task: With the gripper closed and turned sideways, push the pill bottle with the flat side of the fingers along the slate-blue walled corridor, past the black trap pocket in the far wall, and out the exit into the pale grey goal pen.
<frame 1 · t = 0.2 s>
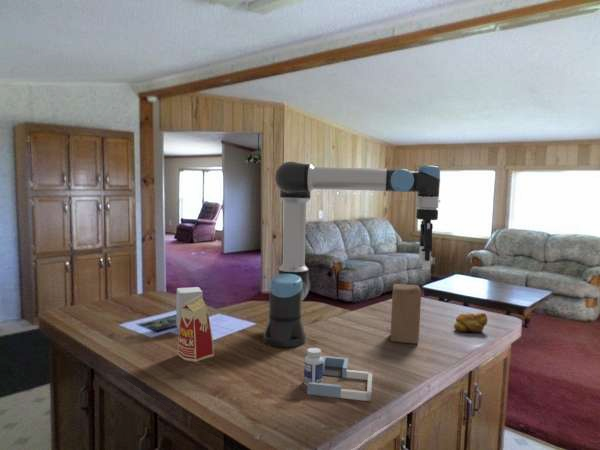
hand: (424, 266, 166), 28 cm above the kitchen island, fingers open, 13 cm apart
tunnel: (327, 384, 128), on the kitchen island
wooden block: (404, 339, 169), on the kitchen island
pill bottle: (313, 384, 129), on the kitchen island
goal pen: (357, 387, 127), on the kitchen island
pit: (333, 371, 137), resting in tunnel
bread roll: (467, 331, 182), on the kitchen island
supplement box: (189, 328, 176), on the kitchen island
milk carton: (194, 356, 147), on the kitchen island
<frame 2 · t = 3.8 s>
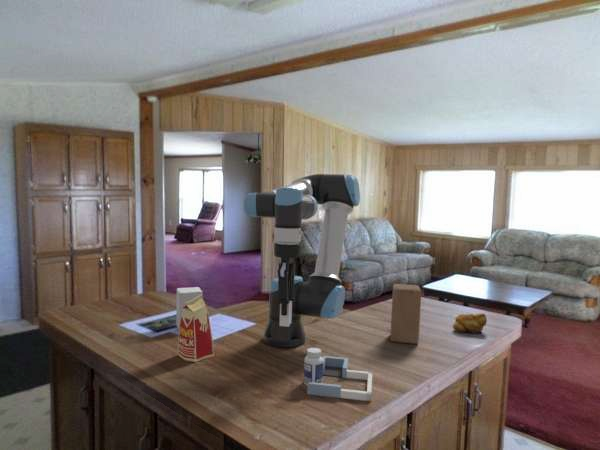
hand: (285, 324, 129), 16 cm above the kitchen island, fingers open, 2 cm apart
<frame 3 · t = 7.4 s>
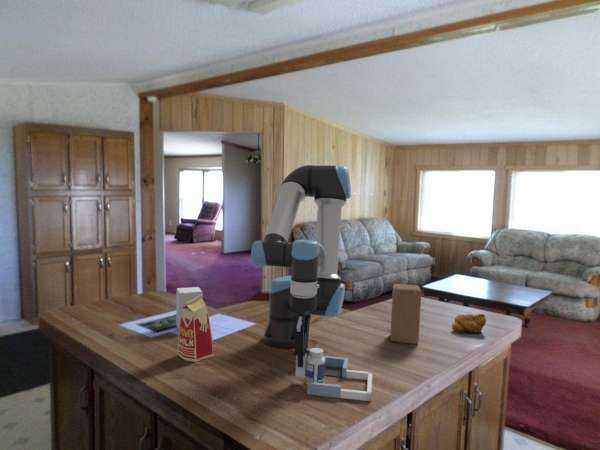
hand: (300, 376, 129), 2 cm above the kitchen island, fingers closed
pill bottle: (314, 384, 129), on the kitchen island, touching gripper
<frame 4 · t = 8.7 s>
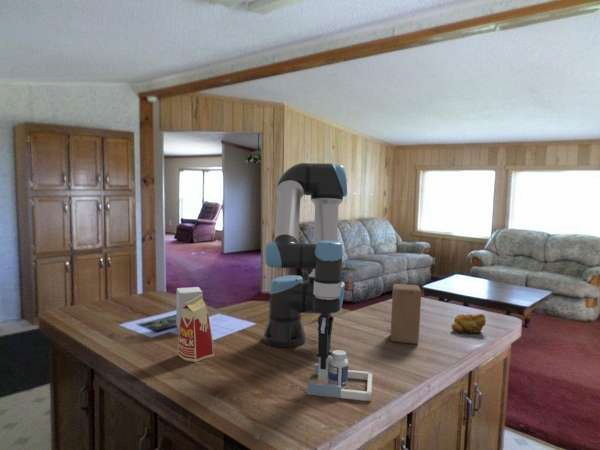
hand: (323, 378, 128), 2 cm above the kitchen island, fingers closed
pill bottle: (337, 386, 127), on the kitchen island, touching gripper
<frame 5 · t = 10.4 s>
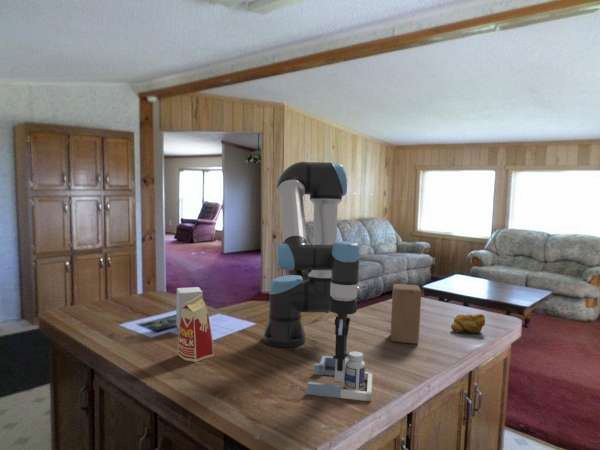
hand: (339, 380, 127), 2 cm above the kitchen island, fingers closed
pill bottle: (354, 388, 127), on the kitchen island, touching gripper
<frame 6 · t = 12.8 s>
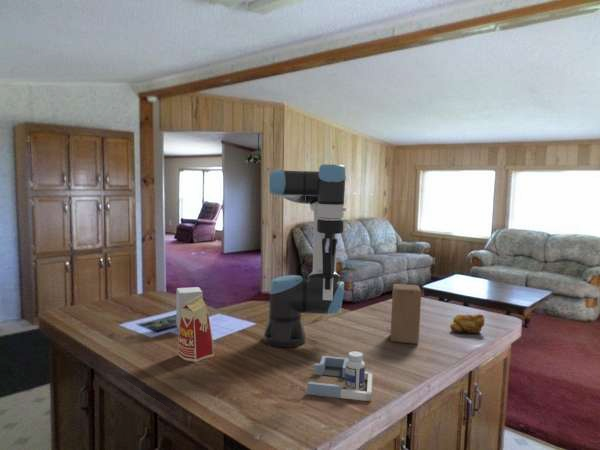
hand: (327, 299, 132), 23 cm above the kitchen island, fingers closed
pill bottle: (354, 388, 127), on the kitchen island
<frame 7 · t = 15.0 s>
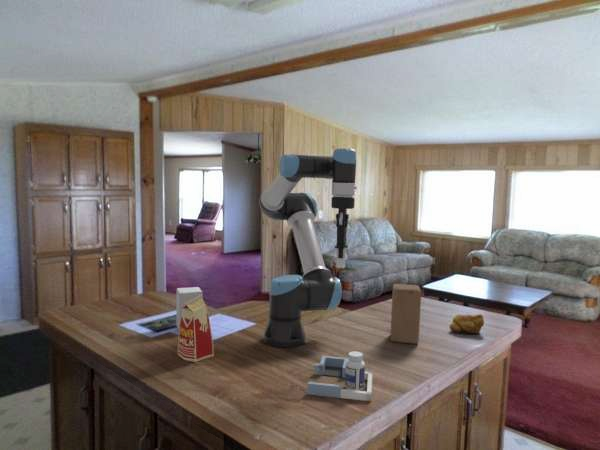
hand: (340, 267, 150), 29 cm above the kitchen island, fingers closed
at the end: pill bottle inside the target area (0.1 cm from its centre), on the kitchen island; pill bottle touching kitchen island; pill bottle tilted 0° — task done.
